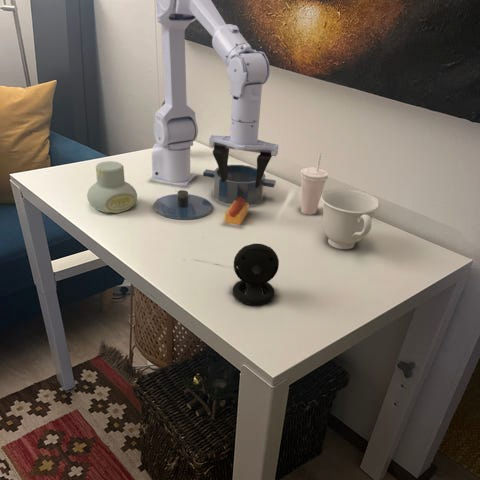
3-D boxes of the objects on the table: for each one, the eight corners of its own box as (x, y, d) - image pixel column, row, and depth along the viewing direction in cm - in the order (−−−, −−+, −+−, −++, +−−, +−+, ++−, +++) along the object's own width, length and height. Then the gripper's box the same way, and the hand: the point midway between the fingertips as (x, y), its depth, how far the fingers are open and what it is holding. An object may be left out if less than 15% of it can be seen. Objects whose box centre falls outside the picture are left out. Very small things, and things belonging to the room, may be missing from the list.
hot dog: (238, 228, 110) (240, 211, 108) (224, 225, 111) (225, 209, 109) (248, 213, 117) (249, 197, 115) (234, 210, 118) (235, 195, 115)
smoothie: (323, 217, 118) (333, 158, 109) (296, 216, 118) (304, 156, 109) (320, 206, 123) (329, 149, 115) (294, 204, 123) (302, 147, 114)
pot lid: (201, 226, 110) (201, 208, 107) (144, 216, 112) (143, 198, 110) (218, 203, 120) (219, 186, 118) (166, 194, 123) (166, 177, 120)
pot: (267, 212, 118) (270, 188, 114) (196, 200, 121) (196, 176, 117) (277, 193, 128) (280, 170, 124) (211, 182, 131) (212, 160, 127)
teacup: (332, 266, 99) (342, 220, 94) (305, 232, 111) (311, 189, 105) (386, 261, 103) (398, 216, 97) (354, 228, 114) (363, 186, 108)
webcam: (272, 283, 93) (278, 235, 87) (276, 307, 87) (283, 256, 81) (231, 282, 92) (234, 233, 86) (232, 305, 86) (235, 254, 80)
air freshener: (98, 220, 109) (93, 175, 103) (83, 206, 114) (77, 163, 108) (143, 210, 115) (141, 167, 109) (127, 197, 120) (124, 156, 114)
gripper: (205, 119, 100) (203, 184, 108) (276, 128, 97) (269, 195, 105) (215, 111, 105) (213, 173, 113) (282, 120, 103) (275, 183, 111)
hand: (240, 183), depth 110 cm, fingers open, 7 cm apart
